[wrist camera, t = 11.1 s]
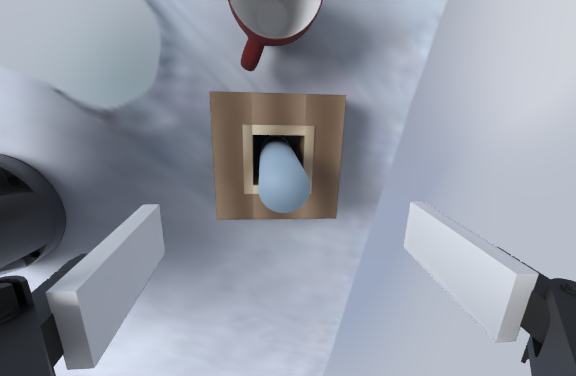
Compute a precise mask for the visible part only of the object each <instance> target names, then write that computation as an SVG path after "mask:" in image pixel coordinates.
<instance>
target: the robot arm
mask: <svg viewBox="0 0 576 376" xmlns="http://www.w3.org/2000/svg"><path fill="white" fill-rule="evenodd" d="M64 230H65V212H64V208H63V205H62V202H61V200H60V198H59V196H58V194H57V193H56V191H55V190H54V188H53V187H52V186H51V184H50V183H49V182H48V181H47V180H46V179H45V178H44V177H43V176H42V175H41V174H40V173H38V172H37V171H36V170H34V169H33V168H31V167H30V166H28V165H26V164H25V163H23V162H21V161H19V160H16V159H14V158H11V157H8V156H5V155H1V154H0V275H3V274H6V273H9V272H13V271H16V270H19V269H22V268H25V267H27V266H29V265H31V264H33V263H35V262H37V261H38V260H40V259H41V258H43V257H44V256H45V255H47V254H48V253H50V252H51V251H52V250H53V249H54V248H55V247H56V246H57V245H58V243H59V242H60V240H61V238H62V236H63V233H64ZM403 247H404V248H405V249H406V250H407V251H408V252H409V253H410V254H411V255H412V256H413V257H414V258H415V259H416V261H418V263H419V264H421V266H422V267H423V268H424V269H425V270H426V271H427V272H428V273H429V274H430V275H431V276H432V277H433V278H434V279H435V280H436V281H437V282H438V283H439V284H440V285H441V286H442V287H443V289H444V290H445V291H446V292H448V294H449V295H450V296H451V297H452V298H453V299H454V300H455V301H456V302H457V303H458V304H459V305H460V306H461V307H462V308H463V309H464V310H465V311H466V312H467V313H468V314H469V316H470V317H471V318H472V319H473V320H474V321H475V322H476V323H477V324H478V325H479V326H480V327H481V328H482V329H483V330H484V331H485V332H486V333H487V334H488V335H489V336H490V337H491V338H492V339H493V340H494V341H495V342H512V341H516V339H517V336H518V333H519V330H520V327H522V328H523V329H525V330H526V331H527V332H528V333H529V334H530V337H529V340H528V343H527V345H526V349H525V351H524V354H523V357H522V360H521V362H523V363H525V362H526V360H527V359H529V360H530V367H531V373H532V376H576V282H574V281H571V280H566V279H561V278H554V279H551V280H550V279H549V278H547V277H546V276H544V275H542V274H541V273H539V272H538V271H536V270H534V269H533V268H531V267H530V266H528V265H526V264H525V263H523V262H520V260H518V259H517V258H515V257H513V256H511V255H510V254H509V253H507V252H505V251H504V250H502V249H501V248H499V247H496V246H494V245H493V244H491V243H489V242H488V241H486V240H485V239H483V238H482V237H480V236H478V235H477V234H475V233H474V232H472V231H470V230H469V229H467V228H466V227H464V226H463V225H461V224H459V223H458V222H456V221H454V220H453V219H451V218H450V217H448V216H446V215H445V214H443V213H442V212H440V211H438V210H437V209H435V208H434V207H432V206H431V205H429V204H427V203H426V202H424V201H413V202H411V203H410V209H409V215H408V221H407V227H406V233H405V239H404V245H403ZM164 254H165V247H164V239H163V231H162V223H161V214H160V206H159V204H143V205H142V206H141V207H140V208H139V209H138V210H136V211H135V212H134V213H133V214H132V215H131V216H130V217H129V218H128V219H126V220H125V221H124V222H123V223H122V224H121V225H120V226H119V227H118V228H116V229H115V230H114V231H113V232H112V233H111V234H110V235H109V236H108V237H106V238H105V239H104V240H103V241H102V242H101V243H100V244H99V245H98V246H96V247H95V248H94V249H93V250H92V251H91V252H90V253H89V254H82V255H80V256H78V257H76V258H74V259H72V260H70V261H68V262H67V263H66V264H65V265H64V266H62V267H61V268H60V269H59V270H58V272H55V273H54V274H53V275H52V276H51V277H50V279H47V280H46V281H45V282H44V283H42V284H41V285H40V286H39V287H38V288H36V289H35V290H34V291H33V292H32V293H31V291H30V288H29V285H28V281H27V279H26V278H25V277H22V276H5V277H1V278H0V376H56V374H55V371H54V368H53V367H54V366H55V364H56V363H57V362H58V360H59V359H60V358H61V357H62V355H63V356H64V360H65V363H66V367H67V370H71V369H87V368H95V366H96V365H97V363H98V362H99V360H100V358H101V357H102V355H103V353H104V352H105V350H106V349H107V347H108V345H109V344H110V342H111V340H112V339H113V337H114V336H115V334H116V332H117V331H118V329H119V327H120V326H121V324H122V323H123V321H124V319H125V318H126V316H127V314H128V313H129V311H130V310H131V308H132V306H133V305H134V303H135V301H136V300H137V298H138V297H139V295H140V293H141V292H142V290H143V288H144V287H145V285H146V284H147V282H148V280H149V279H150V277H151V275H152V274H153V272H154V271H155V269H156V267H157V266H158V264H159V262H160V261H161V259H162V258H163V256H164Z"/></svg>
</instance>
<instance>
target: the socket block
mask: <svg viewBox="0 0 576 376" xmlns="http://www.w3.org/2000/svg"><path fill="white" fill-rule="evenodd" d="M345 103H346V95H320V94H283V93H246V92H210V106H211V124H212V141H213V159H214V176H215V194H216V211H217V220H240V219H325V218H336V213H337V201H338V189H339V176H340V164H341V152H342V140H343V127H344V115H345ZM254 135H298V149H297V158H298V160H299V162H300V164H301V165H302V167H303V169H304V171H305V172H306V174H307V176H308V178H309V181H310V187H311V189H310V195H309V197H308V199H307V201H306V202H305V204H304V205H303V206H302V207H300V208H299V209H297V210H295V211H293V212H290V213H278V212H274V211H272V210H270V209H269V208H267V207H266V206H265V205H264V204H263V202H262V201H261V199H260V196H259V192H258V184H259V172H255V152H254Z"/></svg>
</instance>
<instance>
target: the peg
mask: <svg viewBox="0 0 576 376" xmlns="http://www.w3.org/2000/svg"><path fill="white" fill-rule="evenodd" d="M310 189H311V187H310V181H309V178H308V176H307V174H306V172H305V171H304V169H303V167H302V165H301V164H300V162H299V160H298V158H297V157H296V155H295V153H294V151H293V150H292V148H291V146H290V144H289V143H288V142H287V140H285V139H284V138H282V137H279V136H272V137H269V138H268V139H266V140H265V141H264V142H263V144H262V146H261V151H260V167H259V184H258V192H259V196H260V199H261V201H262V202H263V204H264V205H265V206H266V207H267V208H269V209H270V210H272V211H274V212H278V213H290V212H293V211H295V210H297V209H299V208H300V207H302V206H303V205H304V204H305V202H306V201H307V199H308V197H309V195H310Z"/></svg>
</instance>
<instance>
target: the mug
mask: <svg viewBox="0 0 576 376" xmlns="http://www.w3.org/2000/svg"><path fill="white" fill-rule="evenodd" d="M228 2H229V5H230V8H231V11H232V13H233V15H234V17H235V19H236V21H237V23H238V24H239V26H240V27H241V29H242V30H243V31H244V32H245V34H246V35H247V36H248V41H247V43H246V45H245V48H244V51H243V54H242V58H241V66H242V67H243V68H244V69H246V70H248V71H254V69H255V68H256V66H257V64H258V62H259V60H260V57H261V54H262V52H263V49H264V46H281V45H285V44H289V43H291V42H293V41H295V40H297V39H298V38H299V37H301V36H302V35H303V34H304V33H305V32H306V31H307V30H308V29H309V27H310V26H311V24H312V23H313V21H314V19H315V18H316V16H317V14H318V12H319V9H320V7H321V4H322V0H228Z"/></svg>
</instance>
